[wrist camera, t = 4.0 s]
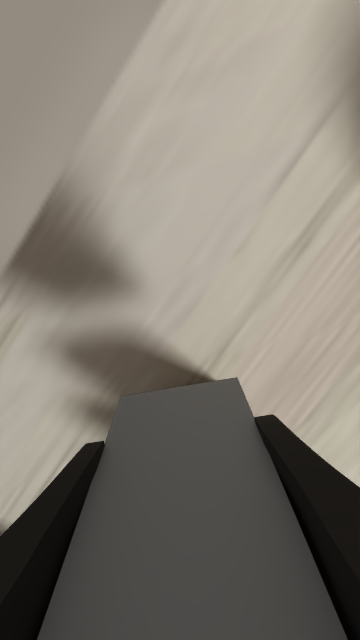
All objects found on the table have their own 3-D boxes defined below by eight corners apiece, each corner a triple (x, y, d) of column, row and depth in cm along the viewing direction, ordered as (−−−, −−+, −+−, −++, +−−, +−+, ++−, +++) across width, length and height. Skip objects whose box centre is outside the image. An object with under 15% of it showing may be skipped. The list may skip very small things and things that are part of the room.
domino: (120, 395, 12) (-20, 801, 3) (237, 377, 12) (397, 758, 3) (129, 427, 12) (24, 853, 4) (241, 409, 12) (392, 818, 4)
